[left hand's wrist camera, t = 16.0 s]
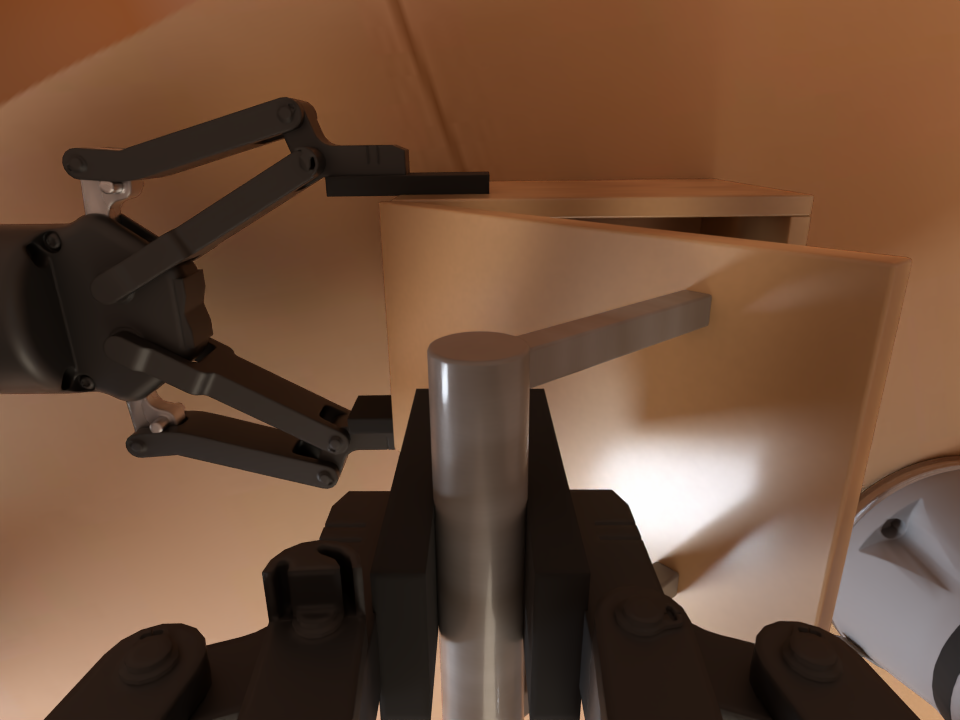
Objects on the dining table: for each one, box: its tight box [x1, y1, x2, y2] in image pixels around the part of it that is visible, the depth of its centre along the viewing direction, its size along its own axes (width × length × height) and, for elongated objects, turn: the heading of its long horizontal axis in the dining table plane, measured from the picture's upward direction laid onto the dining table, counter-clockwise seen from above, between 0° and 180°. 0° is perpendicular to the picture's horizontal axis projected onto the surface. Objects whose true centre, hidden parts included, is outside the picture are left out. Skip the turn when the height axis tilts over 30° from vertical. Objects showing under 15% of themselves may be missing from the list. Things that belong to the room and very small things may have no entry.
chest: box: [392, 179, 814, 246], centre depth 29 cm, size 16×10×10 cm, turn 91°
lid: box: [379, 200, 912, 720], centre depth 16 cm, size 16×10×8 cm
